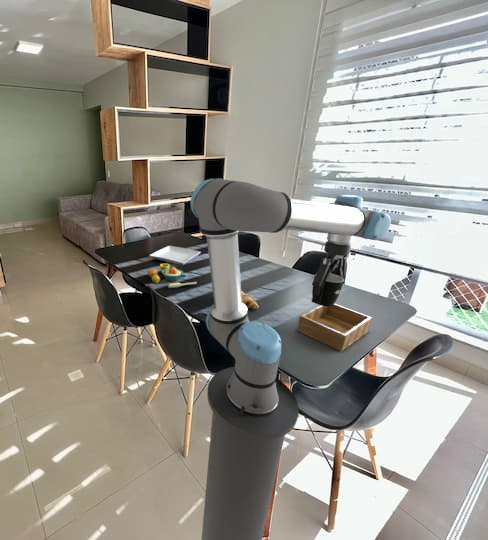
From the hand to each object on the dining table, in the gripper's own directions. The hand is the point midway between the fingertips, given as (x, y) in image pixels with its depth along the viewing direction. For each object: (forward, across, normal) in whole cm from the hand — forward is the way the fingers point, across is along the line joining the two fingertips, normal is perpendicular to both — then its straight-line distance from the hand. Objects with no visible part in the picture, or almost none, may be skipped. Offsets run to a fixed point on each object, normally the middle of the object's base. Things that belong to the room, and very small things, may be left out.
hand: (324, 298), depth 106 cm
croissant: (+18, +2, -37) cm, 41 cm away
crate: (+17, -11, +1) cm, 21 cm away
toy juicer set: (+18, +13, -78) cm, 81 cm away
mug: (+1, 0, 0) cm, 1 cm away
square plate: (+18, -16, -107) cm, 110 cm away
